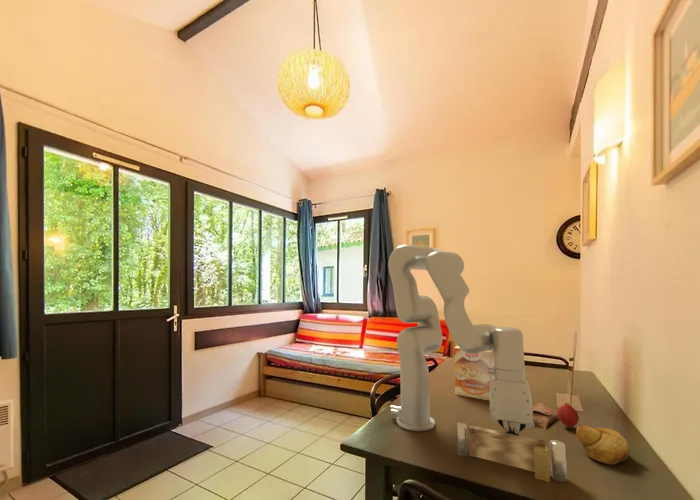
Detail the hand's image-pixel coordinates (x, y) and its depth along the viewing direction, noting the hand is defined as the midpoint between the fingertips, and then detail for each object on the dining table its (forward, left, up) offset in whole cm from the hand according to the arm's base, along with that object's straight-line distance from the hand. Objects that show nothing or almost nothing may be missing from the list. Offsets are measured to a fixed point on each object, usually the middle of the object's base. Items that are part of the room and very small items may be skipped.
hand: (512, 446), depth 88 cm
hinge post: (-12, -2, -4) cm, 13 cm away
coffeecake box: (-18, +51, -4) cm, 54 cm away
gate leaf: (-1, -2, -3) cm, 4 cm away
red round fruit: (+14, +33, -4) cm, 36 cm away
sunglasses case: (+6, +37, -5) cm, 37 cm away
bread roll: (+22, +16, -4) cm, 27 cm away
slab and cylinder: (+8, -3, -4) cm, 10 cm away
